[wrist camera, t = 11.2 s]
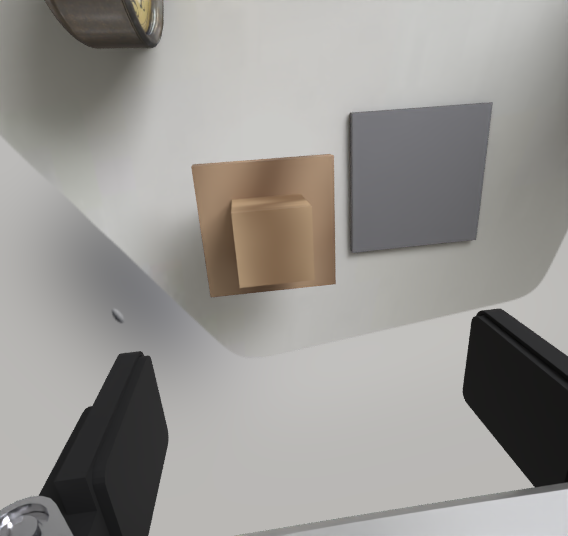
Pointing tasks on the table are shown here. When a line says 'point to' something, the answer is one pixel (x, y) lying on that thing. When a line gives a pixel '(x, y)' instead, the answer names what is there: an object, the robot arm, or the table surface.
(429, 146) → the mat
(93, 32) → the alarm clock
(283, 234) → the lid
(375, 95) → the table surface
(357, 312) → the table surface
